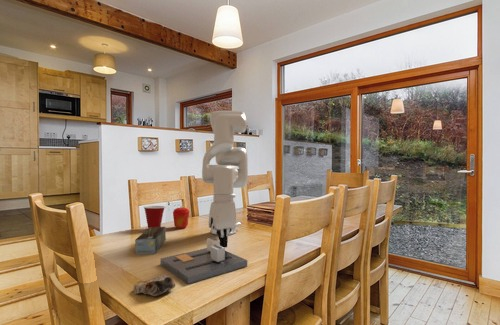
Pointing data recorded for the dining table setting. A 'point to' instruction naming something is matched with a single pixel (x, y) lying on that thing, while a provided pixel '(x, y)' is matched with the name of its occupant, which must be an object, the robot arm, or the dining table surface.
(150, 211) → the plastic cup
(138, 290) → the rock
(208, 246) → the fader cream
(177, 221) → the apple
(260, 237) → the dining table surface
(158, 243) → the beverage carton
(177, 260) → the console
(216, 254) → the white block
